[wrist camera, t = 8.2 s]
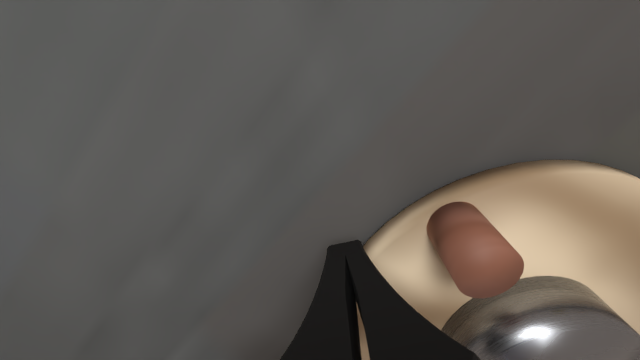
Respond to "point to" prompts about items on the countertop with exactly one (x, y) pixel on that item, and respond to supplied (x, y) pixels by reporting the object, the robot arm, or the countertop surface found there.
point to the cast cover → (543, 324)
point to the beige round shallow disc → (515, 238)
